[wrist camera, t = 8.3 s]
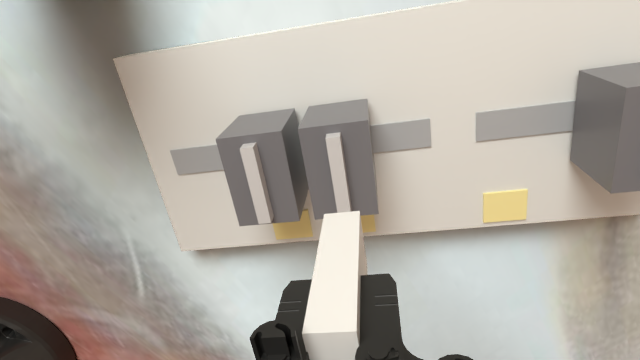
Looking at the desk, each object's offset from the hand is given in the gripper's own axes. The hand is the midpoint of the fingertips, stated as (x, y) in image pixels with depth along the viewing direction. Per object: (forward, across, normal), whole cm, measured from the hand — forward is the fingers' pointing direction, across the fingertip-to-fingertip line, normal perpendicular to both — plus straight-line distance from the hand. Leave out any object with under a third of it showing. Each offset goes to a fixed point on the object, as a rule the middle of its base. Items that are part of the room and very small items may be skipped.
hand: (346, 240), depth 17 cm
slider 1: (+12, -6, 0) cm, 14 cm away
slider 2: (+12, -1, 0) cm, 12 cm away
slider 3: (+12, +16, 0) cm, 20 cm away
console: (+15, +2, 0) cm, 15 cm away
